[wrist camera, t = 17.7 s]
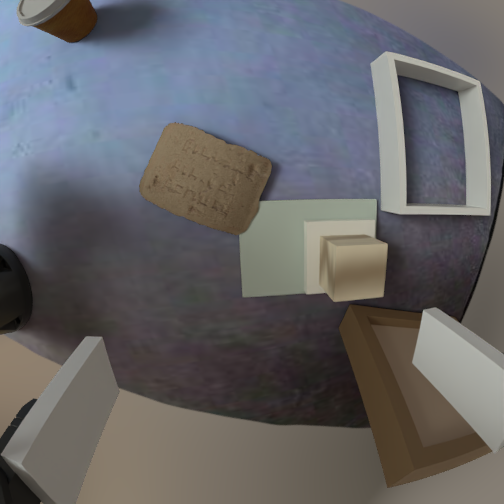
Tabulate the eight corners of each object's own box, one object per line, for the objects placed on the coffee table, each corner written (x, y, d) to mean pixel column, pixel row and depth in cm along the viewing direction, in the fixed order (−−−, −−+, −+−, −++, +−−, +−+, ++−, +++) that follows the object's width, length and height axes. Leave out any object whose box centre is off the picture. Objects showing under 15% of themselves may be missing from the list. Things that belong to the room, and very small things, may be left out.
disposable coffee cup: (119, 7, 28) (89, -35, 16) (81, 57, 29) (38, 26, 18) (79, -1, 26) (47, -35, 15) (44, 45, 28) (3, 19, 16)
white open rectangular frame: (380, 210, 37) (399, 214, 32) (370, 63, 32) (386, 51, 27) (469, 211, 38) (490, 215, 33) (461, 87, 33) (479, 81, 28)
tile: (306, 294, 36) (371, 288, 37) (306, 221, 34) (375, 220, 35) (303, 289, 38) (366, 284, 38) (303, 220, 36) (369, 218, 36)
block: (320, 235, 35) (336, 246, 29) (365, 234, 35) (387, 243, 29) (318, 283, 36) (333, 302, 30) (362, 280, 36) (383, 296, 30)
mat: (242, 295, 38) (242, 297, 38) (237, 202, 36) (237, 202, 35) (371, 285, 39) (372, 286, 38) (374, 199, 36) (376, 199, 36)
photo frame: (347, 301, 39) (449, 424, 15) (451, 314, 41) (548, 389, 17) (317, 385, 42) (367, 517, 18) (419, 384, 45) (487, 472, 20)
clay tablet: (275, 162, 34) (277, 160, 31) (241, 239, 36) (240, 243, 33) (167, 120, 33) (161, 114, 30) (136, 194, 35) (127, 195, 32)
